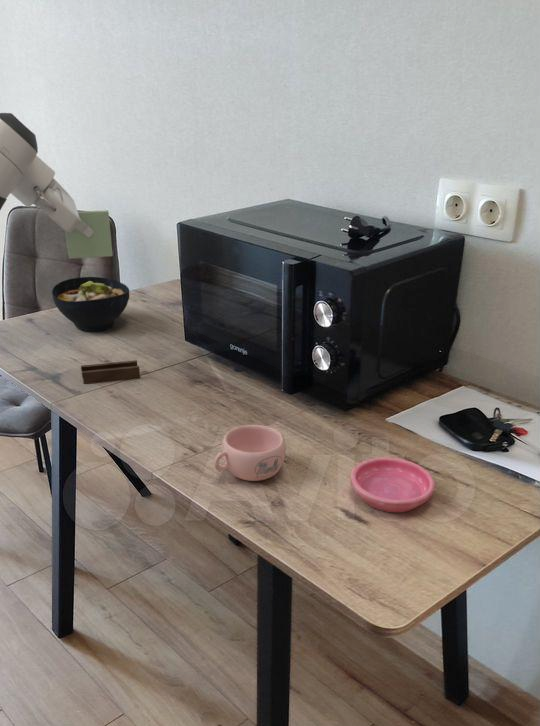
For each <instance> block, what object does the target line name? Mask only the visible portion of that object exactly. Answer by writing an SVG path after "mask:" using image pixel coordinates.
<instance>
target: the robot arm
mask: <svg viewBox="0 0 540 726" xmlns="http://www.w3.org/2000/svg"><path fill="white" fill-rule="evenodd" d="M38 148H39V147H38V142H37V136H36V134H35V133H34V132H33V131H31V130H30V129H29V128H28V127H27V126H26V125H25V124H24V123H23V122H21V121H20V119H19V118H17V116H16V115H14V114H13V113H12V112H0V211H1V210H2V208H3V206H4V205H5V204H6V202H7V198H8V197H9V196H10V195H12V196H13V197H14V198H15V199H17V200H18V201H19V202H20V203H21V204H22V205H24V206H25V207H26V208H30V207H32V206H33V205H34V206H35V207H36V208H37V209H41V211H42V212H43V213H45V215H46V216H48V218H50V219H51V220H52V221H54V223H56V225H58V226H59V227H60V228H62V230H64V232H65V231H67V232H68V233H71V232H72V231H73V230H74V229H77V230H79V231H80V232H82V233H83V234H84V235H86V236H87V237H91V235H92V234H93V233H94V231H93V229H92V228H91V227H90V226H89V225H87V224H86V223H85V222H84V221H83V220H81V218H80V217H79V214H78V212H79V210H78V208H77V205H76V203H75V200H74V199H73V197H72V196H71V195H70V193H68V191H67V190H66V189H65V188H64V187H63V186H62V185H61V184H60V183H59V182H58V181H57V180H56V179H55V175H56V171H55V170H54V169H53V168H51V167H50V166H49V165H48V163H45V162H44V161H43V160H42V158H40V157H39V156H38V153H39V151H38Z"/></svg>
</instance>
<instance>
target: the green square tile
mask: <svg viewBox="0 0 540 726" xmlns="http://www.w3.org/2000/svg"><path fill="white" fill-rule="evenodd" d="M78 214H79V217H80V218H81V220H83V221H84V222H85V223H86V224H87V225H89V226H90V227H91V228H92V229H93V231H94V233H93V234H92V235H91V237H87V236H86V235H84V234H83V233H82V232H80V231H79V230H77V229H74V230H73V231H72V232H71V233H68V232H67V231H65V230H64V233H65V240H66V248H67V256H68V259H69V260H71V259H88V258H89V259H90V258H105V257H113V256H114V255H113V254H114V253H113V243H112V234H111V224H110V223H111V222H110V214H109V210H84V211H78Z"/></svg>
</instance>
